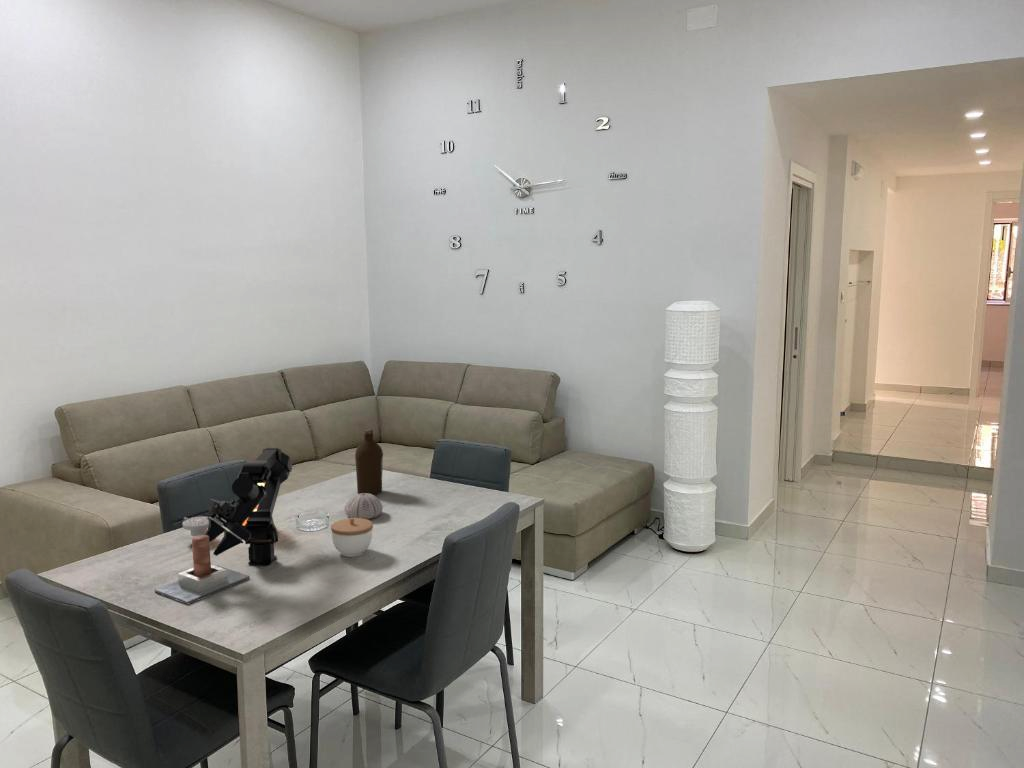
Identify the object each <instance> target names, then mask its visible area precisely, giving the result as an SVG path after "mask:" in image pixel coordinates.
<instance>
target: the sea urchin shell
mask: <svg viewBox="0 0 1024 768" xmlns="http://www.w3.org/2000/svg"><path fill="white" fill-rule="evenodd" d="M344 512H345V515H346V516H347V518H362V519H367V520H371V519H374V518H377V517H379V516H380V515H381V514H382V512H383V505H382V502H381V500H380V499H379V498H378V497H377V495H372V494H369V493H361V494H358V493H357V494H356V495H353V496H352V497H351V498H349V500H347V502H346V504H345V506H344Z"/></svg>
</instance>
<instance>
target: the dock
mask: <svg viewBox="0 0 1024 768" xmlns="http://www.w3.org/2000/svg"><path fill="white" fill-rule="evenodd" d="M247 579H248V580H250V579H251V578H250V575H247V574H245V573H242V572H238V571H235V570H232V569H229V568H226V567H223V566H221V565H218V564H217V565H214V564H211V574H209V575H206V576H204V577H201V578H199V577H196V576H194V567H192V568H189V569H187V570H184V571H181V572H179V573H177V580H176V581H173V582H171V583H168V584H166V585H163V586H160V587H158V588H155V589H154V593H155V592H157V593H156V594H158V593H159V594H158V595H161V594H163V595H165V596H164V597H166V596H168V597H167V598H169V597H170V598H169V599H171V598H174V599H177V600H179V601H182V602H184V603H186V604H185V605H187V604H188V603H190V604H192V603H191V602H193V601H195V602H197V601H196V600H198V599H200V600H202V599H205V598H207V597H209V595H210V596H211V595H214V594H216V593H219V592H222V591H224V590H226V589H228V588H230V587H233V586H235V585H238V584H240V583H242V582H245V581H248V580H247ZM163 595H162V596H163ZM204 597H205V598H204ZM201 598H202V599H201ZM174 599H173V600H174ZM179 601H178V602H179ZM198 601H199V600H198ZM182 602H181V603H182ZM184 603H183V604H184ZM193 603H194V602H193ZM188 605H189V604H188Z"/></svg>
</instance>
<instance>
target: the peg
mask: <svg viewBox="0 0 1024 768" xmlns="http://www.w3.org/2000/svg"><path fill="white" fill-rule="evenodd" d="M191 546H192V547H191V548H192V562H193V568H194V576H196V577H199V578H201V577H204V576H206V575H209V574H211V565H212V564H211V563H212V562H211V561H212V560H211V548H210V546H211V545H210V543H209V536H208V535H198V536H195V537H194V536H192V538H191Z"/></svg>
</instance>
